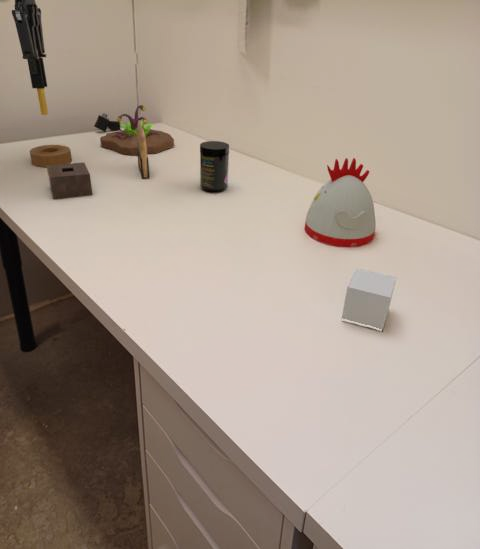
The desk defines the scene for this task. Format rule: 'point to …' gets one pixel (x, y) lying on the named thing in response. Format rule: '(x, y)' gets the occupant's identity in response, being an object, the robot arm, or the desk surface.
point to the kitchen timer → (342, 209)
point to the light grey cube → (368, 298)
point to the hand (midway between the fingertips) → (39, 87)
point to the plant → (128, 138)
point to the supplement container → (214, 166)
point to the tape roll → (50, 155)
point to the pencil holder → (69, 180)
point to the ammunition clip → (142, 152)
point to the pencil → (42, 100)
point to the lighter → (106, 123)
